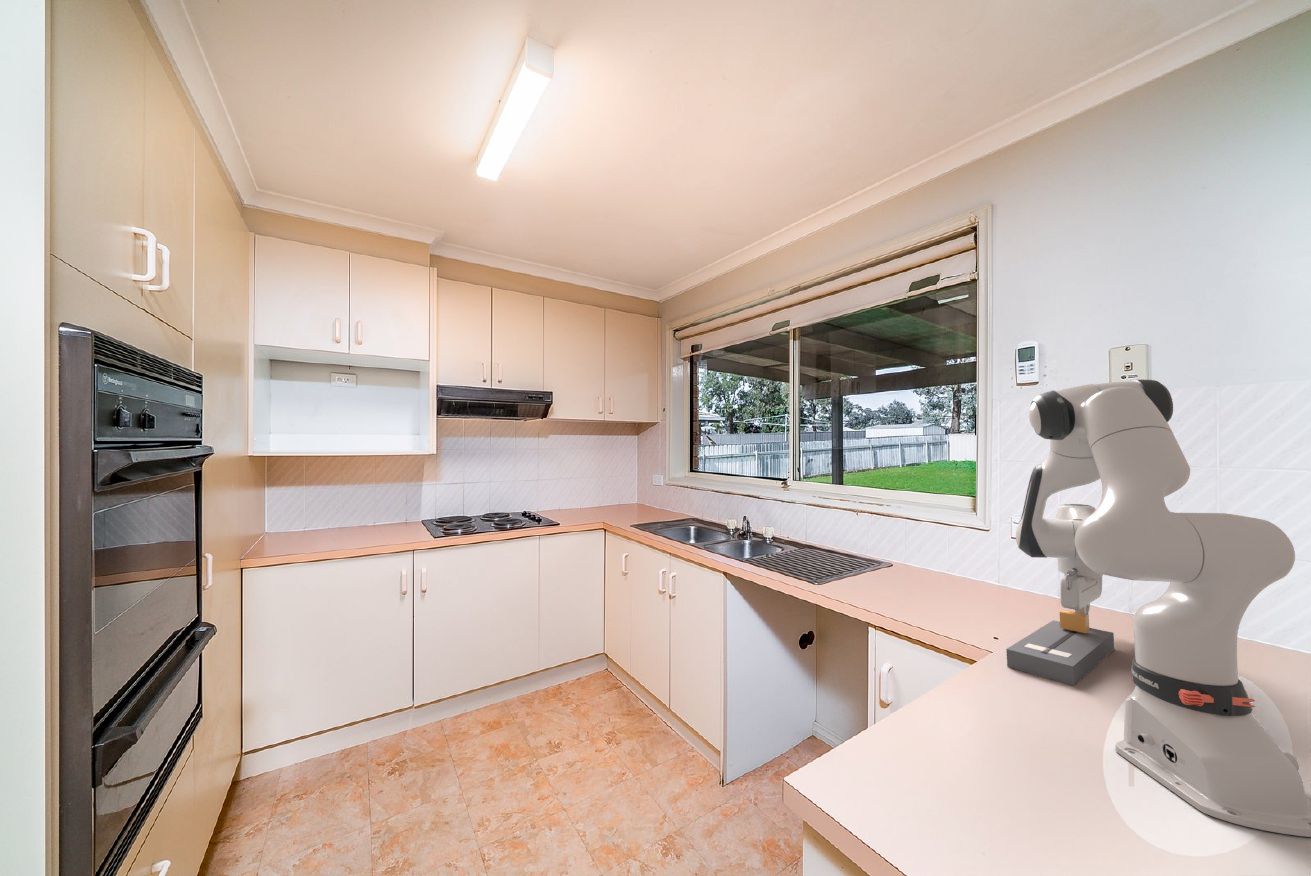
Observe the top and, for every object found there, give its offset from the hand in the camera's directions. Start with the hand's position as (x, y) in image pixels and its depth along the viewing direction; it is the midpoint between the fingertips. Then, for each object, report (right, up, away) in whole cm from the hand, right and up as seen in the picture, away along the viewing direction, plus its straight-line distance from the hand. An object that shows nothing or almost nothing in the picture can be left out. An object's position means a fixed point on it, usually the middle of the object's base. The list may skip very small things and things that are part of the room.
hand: (1082, 620), depth 125 cm
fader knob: (-5, -1, -4) cm, 6 cm away
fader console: (-13, -5, -10) cm, 17 cm away
